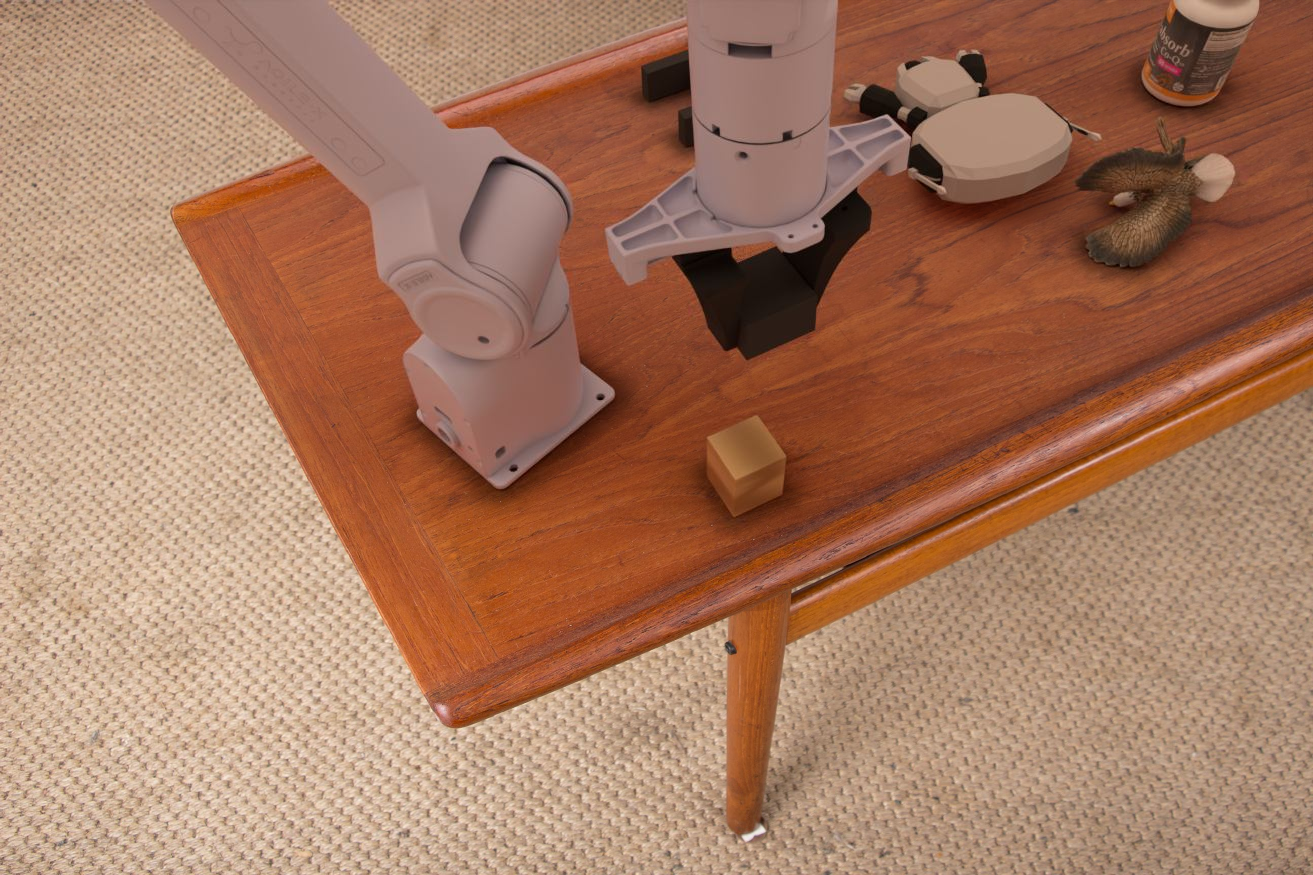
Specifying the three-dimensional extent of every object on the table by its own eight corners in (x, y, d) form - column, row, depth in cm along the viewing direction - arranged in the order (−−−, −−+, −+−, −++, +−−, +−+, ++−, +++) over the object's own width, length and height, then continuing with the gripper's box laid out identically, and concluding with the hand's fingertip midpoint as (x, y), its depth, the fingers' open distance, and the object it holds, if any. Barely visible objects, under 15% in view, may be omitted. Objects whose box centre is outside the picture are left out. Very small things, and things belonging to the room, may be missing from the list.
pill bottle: (1124, 71, 82) (1171, -52, 73) (1191, 55, 82) (1244, -69, 74) (1166, 117, 78) (1220, -6, 70) (1235, 100, 79) (1296, -24, 71)
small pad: (746, 361, 54) (745, 327, 52) (708, 309, 56) (706, 274, 54) (815, 330, 54) (817, 295, 52) (775, 281, 57) (776, 245, 54)
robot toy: (829, 124, 80) (939, 243, 72) (833, 70, 77) (949, 189, 68) (970, 78, 83) (1093, 188, 74) (980, 24, 79) (1111, 133, 70)
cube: (733, 518, 60) (735, 480, 57) (706, 476, 62) (706, 436, 59) (782, 495, 61) (787, 456, 58) (754, 454, 63) (757, 414, 60)
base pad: (685, 148, 78) (684, 119, 76) (642, 94, 82) (640, 65, 80) (791, 108, 80) (793, 79, 78) (744, 58, 84) (745, 28, 82)
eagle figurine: (1110, 144, 75) (1041, 188, 71) (1202, 91, 69) (1132, 136, 64) (1165, 238, 76) (1100, 288, 71) (1261, 194, 69) (1196, 245, 65)
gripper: (645, 222, 40) (670, 431, 51) (967, 91, 43) (925, 316, 54) (570, 119, 44) (608, 334, 55) (870, 5, 47) (849, 231, 58)
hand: (760, 319), depth 55 cm, fingers closed on small pad, 4 cm apart
